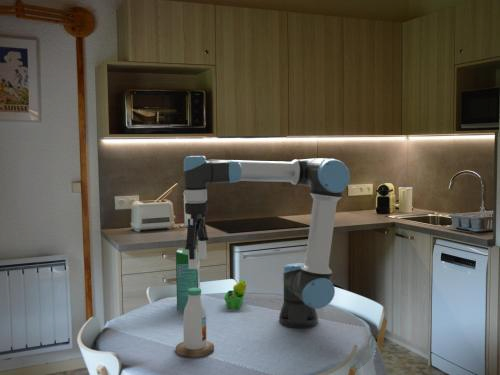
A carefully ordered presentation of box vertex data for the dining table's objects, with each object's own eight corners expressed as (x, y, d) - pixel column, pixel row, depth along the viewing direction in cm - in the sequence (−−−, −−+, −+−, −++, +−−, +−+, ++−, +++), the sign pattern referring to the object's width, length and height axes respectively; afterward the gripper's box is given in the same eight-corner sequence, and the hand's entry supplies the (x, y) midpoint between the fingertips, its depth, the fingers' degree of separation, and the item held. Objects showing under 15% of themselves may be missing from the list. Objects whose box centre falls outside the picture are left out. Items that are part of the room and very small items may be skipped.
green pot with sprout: (228, 301, 240) (228, 276, 239) (248, 302, 239) (248, 277, 238) (223, 309, 229) (223, 283, 228) (244, 310, 227) (244, 283, 226)
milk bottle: (197, 352, 180) (196, 293, 178) (179, 347, 184) (178, 290, 182) (210, 344, 186) (210, 287, 184) (193, 340, 190) (192, 284, 188)
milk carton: (198, 309, 228) (197, 251, 226) (176, 309, 228) (175, 251, 226) (200, 303, 237) (199, 247, 235) (179, 303, 237) (178, 247, 235)
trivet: (217, 343, 190) (217, 340, 190) (209, 358, 177) (209, 355, 177) (181, 342, 192) (181, 338, 192) (170, 356, 179) (170, 352, 179)
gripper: (194, 197, 195) (196, 255, 197) (174, 206, 170) (177, 272, 172) (214, 197, 194) (216, 255, 196) (198, 206, 169) (200, 273, 171)
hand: (197, 263), depth 184 cm, fingers open, 13 cm apart
